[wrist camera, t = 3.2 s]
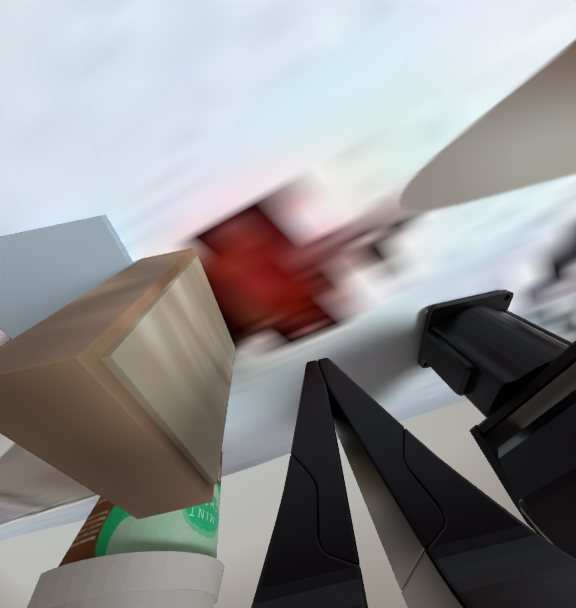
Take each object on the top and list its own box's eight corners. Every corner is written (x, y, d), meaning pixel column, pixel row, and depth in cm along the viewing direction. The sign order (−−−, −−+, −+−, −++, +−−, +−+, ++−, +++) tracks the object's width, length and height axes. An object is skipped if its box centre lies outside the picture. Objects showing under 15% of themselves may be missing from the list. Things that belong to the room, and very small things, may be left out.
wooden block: (196, 247, 12) (86, 355, 4) (237, 349, 16) (218, 500, 8) (141, 258, 12) (-70, 389, 4) (196, 358, 16) (137, 519, 8)
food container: (257, 453, 24) (257, 607, 15) (218, 475, 25) (197, 628, 16) (163, 404, 18) (75, 605, 9) (118, 436, 19) (5, 638, 11)
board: (105, 214, 11) (100, 215, 10) (201, 382, 17) (200, 386, 17) (-71, 251, 11) (-83, 253, 10) (93, 406, 17) (89, 411, 17)
